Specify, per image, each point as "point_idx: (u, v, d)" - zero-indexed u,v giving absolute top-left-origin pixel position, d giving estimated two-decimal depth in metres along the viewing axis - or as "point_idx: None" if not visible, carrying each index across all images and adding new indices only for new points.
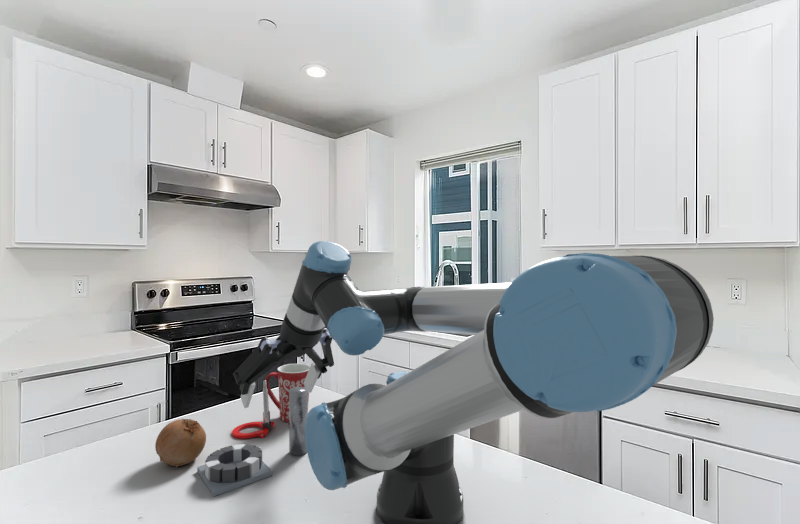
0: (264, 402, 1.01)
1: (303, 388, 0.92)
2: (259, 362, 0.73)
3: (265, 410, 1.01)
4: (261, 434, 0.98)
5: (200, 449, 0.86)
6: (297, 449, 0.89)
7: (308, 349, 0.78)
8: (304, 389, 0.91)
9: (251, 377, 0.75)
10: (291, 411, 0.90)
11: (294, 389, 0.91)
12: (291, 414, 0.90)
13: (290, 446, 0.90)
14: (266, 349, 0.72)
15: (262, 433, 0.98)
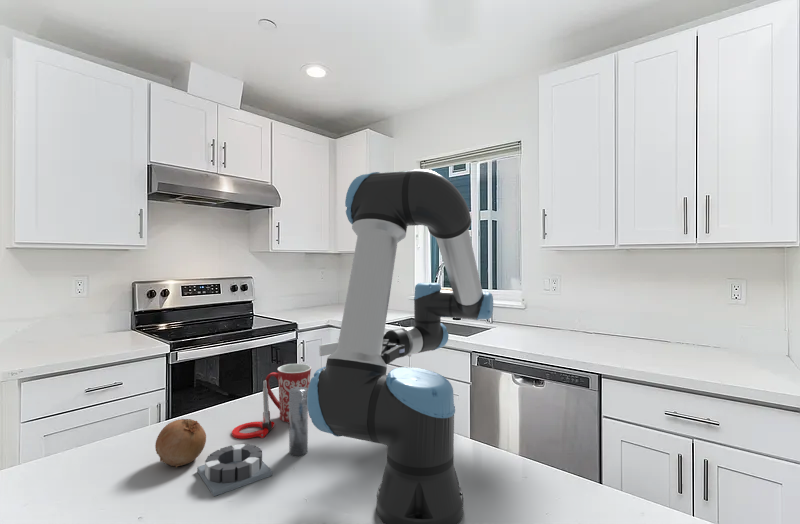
0: (264, 402, 1.01)
1: (303, 388, 0.92)
2: None
3: (265, 410, 1.01)
4: (261, 434, 0.98)
5: (200, 449, 0.86)
6: (297, 449, 0.89)
7: (387, 339, 1.06)
8: (304, 389, 0.91)
9: None
10: (291, 411, 0.90)
11: (294, 389, 0.91)
12: (291, 414, 0.90)
13: (290, 446, 0.90)
14: None
15: (262, 433, 0.98)
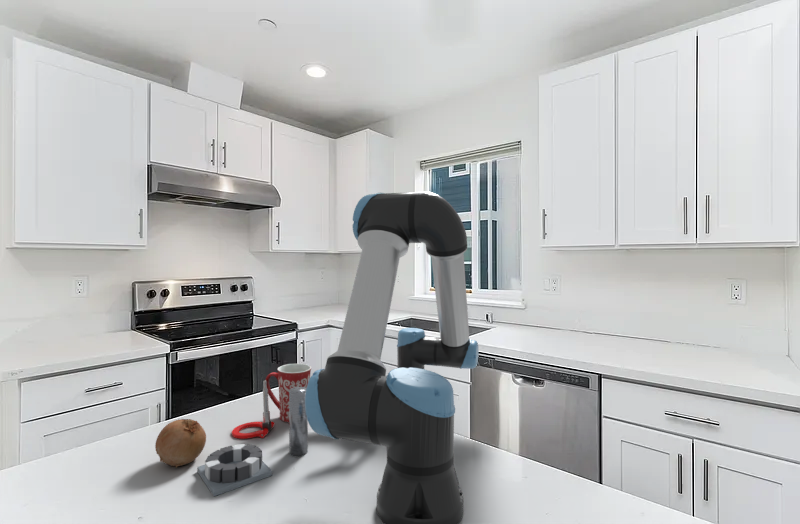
0: (264, 402, 1.01)
1: (303, 388, 0.92)
2: None
3: (265, 410, 1.01)
4: (261, 434, 0.98)
5: (200, 449, 0.86)
6: (297, 449, 0.89)
7: None
8: (304, 389, 0.91)
9: None
10: (291, 411, 0.90)
11: (294, 389, 0.91)
12: (291, 414, 0.90)
13: (290, 446, 0.90)
14: None
15: (262, 433, 0.98)
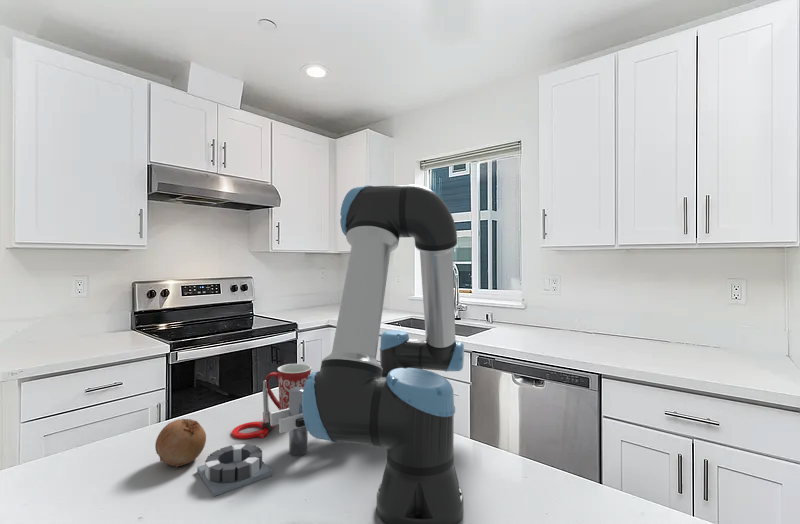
0: (264, 402, 1.01)
1: (303, 388, 0.92)
2: None
3: (265, 410, 1.01)
4: (261, 434, 0.98)
5: (200, 449, 0.86)
6: (297, 449, 0.89)
7: None
8: None
9: None
10: (291, 411, 0.90)
11: (294, 389, 0.91)
12: (291, 414, 0.90)
13: (290, 446, 0.90)
14: None
15: (262, 433, 0.98)
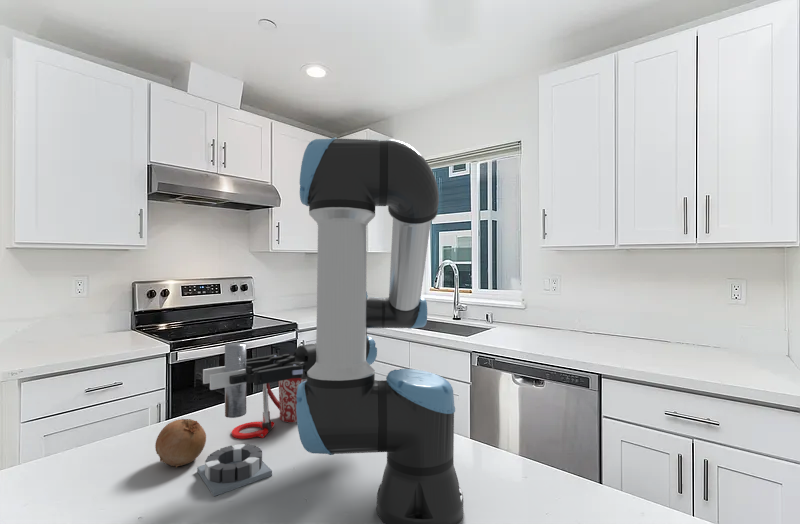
0: (264, 402, 1.01)
1: (241, 343, 0.83)
2: (263, 357, 0.91)
3: (265, 410, 1.01)
4: (261, 434, 0.98)
5: (200, 449, 0.86)
6: (233, 410, 0.80)
7: (292, 357, 0.88)
8: (242, 344, 0.82)
9: None
10: (226, 367, 0.81)
11: (231, 344, 0.82)
12: (226, 371, 0.81)
13: (225, 407, 0.81)
14: (274, 354, 0.94)
15: (262, 433, 0.98)
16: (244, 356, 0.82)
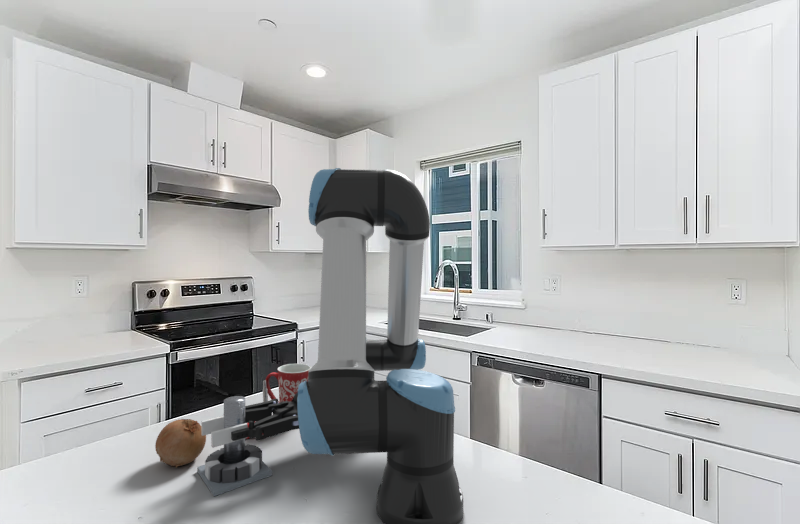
0: None
1: (240, 398, 0.83)
2: (262, 403, 0.92)
3: None
4: None
5: (200, 449, 0.86)
6: None
7: (291, 405, 0.88)
8: (241, 399, 0.82)
9: None
10: (225, 423, 0.80)
11: (230, 399, 0.82)
12: (225, 427, 0.80)
13: (224, 462, 0.81)
14: (274, 399, 0.94)
15: None
16: (243, 411, 0.82)
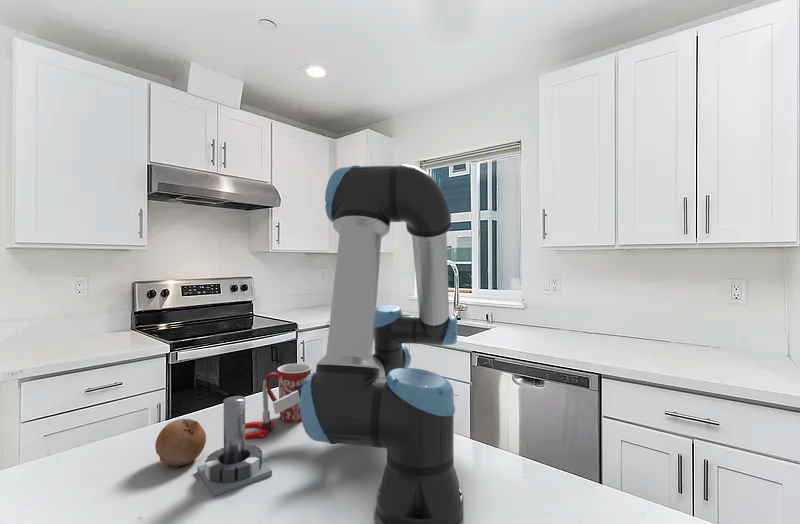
0: (264, 402, 1.01)
1: (240, 397, 0.83)
2: None
3: (265, 410, 1.01)
4: (261, 434, 0.98)
5: (200, 449, 0.86)
6: None
7: None
8: (241, 399, 0.82)
9: None
10: (225, 423, 0.80)
11: (230, 399, 0.82)
12: (225, 427, 0.80)
13: (224, 462, 0.81)
14: None
15: (262, 433, 0.98)
16: (243, 411, 0.82)
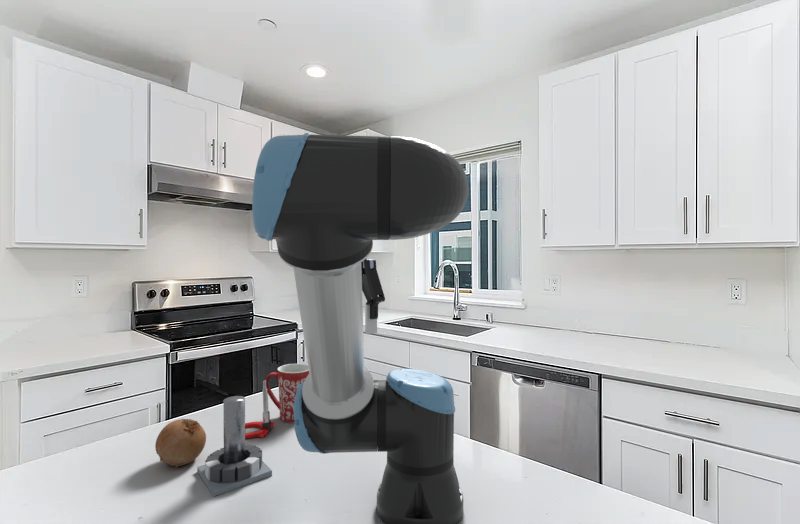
0: (264, 402, 1.01)
1: (240, 397, 0.83)
2: None
3: (265, 410, 1.01)
4: (261, 434, 0.98)
5: (200, 449, 0.86)
6: None
7: None
8: (241, 399, 0.82)
9: None
10: (225, 423, 0.81)
11: (229, 399, 0.82)
12: (225, 427, 0.81)
13: (224, 462, 0.81)
14: None
15: (262, 433, 0.98)
16: (243, 411, 0.82)
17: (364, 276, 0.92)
